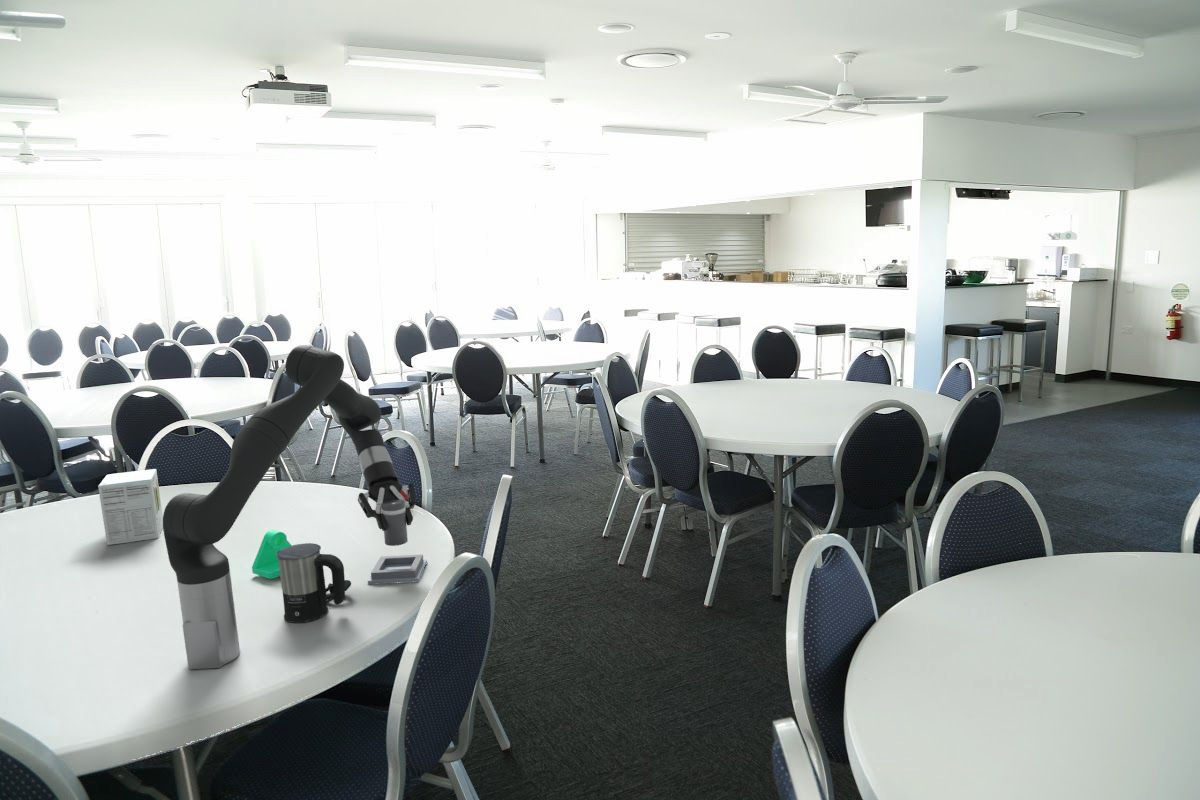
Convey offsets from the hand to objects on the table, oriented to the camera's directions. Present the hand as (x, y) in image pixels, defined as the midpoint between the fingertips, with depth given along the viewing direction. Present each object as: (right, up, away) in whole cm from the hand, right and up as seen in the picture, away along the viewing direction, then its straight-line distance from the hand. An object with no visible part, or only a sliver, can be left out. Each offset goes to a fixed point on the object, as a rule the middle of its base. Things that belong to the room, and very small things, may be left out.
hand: (397, 526), depth 196 cm
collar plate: (-1, -12, +4) cm, 13 cm away
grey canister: (-1, -4, +2) cm, 5 cm away
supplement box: (-85, -9, +39) cm, 94 cm away
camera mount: (-30, -13, +8) cm, 34 cm away
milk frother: (-14, -16, -14) cm, 25 cm away
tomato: (-15, -3, +54) cm, 56 cm away
